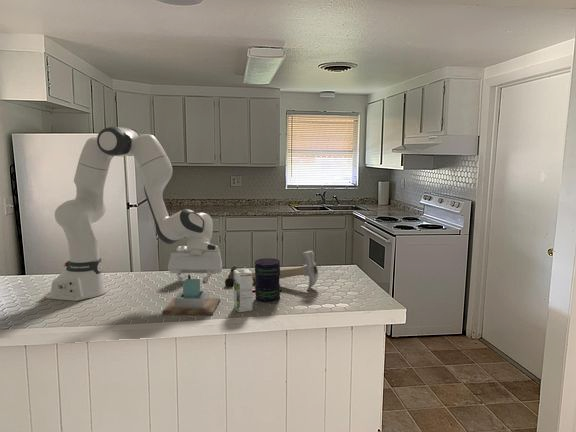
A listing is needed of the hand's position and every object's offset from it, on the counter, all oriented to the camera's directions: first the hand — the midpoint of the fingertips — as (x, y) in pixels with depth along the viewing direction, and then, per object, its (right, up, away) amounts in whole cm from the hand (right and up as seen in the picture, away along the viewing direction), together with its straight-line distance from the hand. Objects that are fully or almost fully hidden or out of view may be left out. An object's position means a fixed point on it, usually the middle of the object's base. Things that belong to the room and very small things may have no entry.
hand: (192, 282), depth 163 cm
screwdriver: (+17, -4, +39) cm, 43 cm away
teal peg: (0, -8, 0) cm, 8 cm away
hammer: (+34, -6, +26) cm, 43 cm away
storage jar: (+28, -8, +10) cm, 30 cm away
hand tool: (+10, -5, +34) cm, 36 cm away
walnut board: (0, -9, 0) cm, 9 cm away
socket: (0, -8, 0) cm, 8 cm away
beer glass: (-11, -4, +35) cm, 37 cm away
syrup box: (+19, -10, -2) cm, 21 cm away
